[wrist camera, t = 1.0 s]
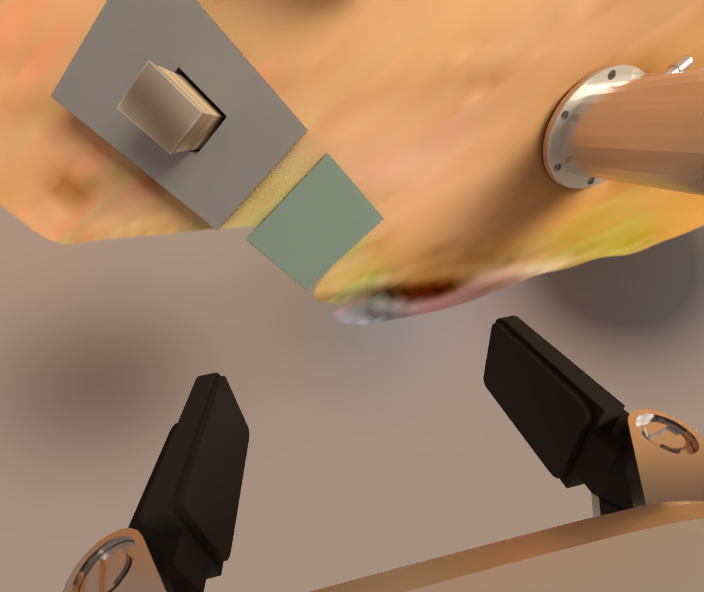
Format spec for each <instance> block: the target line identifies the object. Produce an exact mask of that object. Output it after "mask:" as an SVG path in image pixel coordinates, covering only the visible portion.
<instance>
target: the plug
mask: <svg viewBox="0 0 704 592" xmlns="http://www.w3.org/2000/svg"><path fill="white" fill-rule="evenodd" d="M117 108H118V109H119V110H120V111H121V112H122V113H123V114H124V115H126V116H127V117H128V118H129V119H130V120H131V121H132V122H134V123H135V124H136V125H137V126H138V127H139V128H141V129H142V130H143V131H144V132H145V133H146V134H147V135H149V136H150V137H151V138H152V139H153V140H154V141H156V142H157V143H158V144H159V145H160V146H161V147H162V148H164V149H165V150H166V151H167V152H168V153H169V154H174V153H175V152H182V151H188V150H195V149H201V148H203V146H204V145H205V144H206V143H207V141H208V140H209V139H210V138H211V136H212V135H213V134H214V133H215V131H216V130H217V129H218V127H219V126H220V125H221V124H222V122H223V121H224V120H225V119H226V117H227V116H226V115H225V114H224V113H223V112H222V111H221V110H220V109H219V108H218V107H217V106H216V105H215V104H214V103H213V102H212V101H211V100H210V99H209V98H208V97H207V96H206V95H205V94H204V93H203V92H202V90H201V89H200V88H199V87H198V86H197V85H196V84H195V83H194V82H193V81H192V80H190V79H188V78H185V77H183V76H181V75H178V74H176V73H174V72H172V71H169V70H167V69H165V68H162V67H160V66H158V65H156V64H155V63H153V62H151V61H149V60H148V62H147V63H146V65H145V66H144V68H143V69H142V71H141V72H140V74H139V75H138V77H137V78H136V80H135V81H134V83H133V84H132V86H131V87H130V89H129V90H128V92H127V93H126V95H125V96H124V98H123V99H122V101H121V102H120V104H119V105H118V107H117Z"/></svg>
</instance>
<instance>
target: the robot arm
mask: <svg viewBox="0 0 704 592" xmlns="http://www.w3.org/2000/svg"><path fill="white" fill-rule="evenodd" d="M692 64H693V60H692V58H691V57H690V56H688V55H684V56H682V57H680V58H679V59H678V60H677V61H675V62H674V63H673V64H672V65H670V66H669V67H668V68H667V70H665V71H661V72H655V73H649V74H645V73H644V72H643V71H642V70H640V69H639V68H637V67H635V66H630V65H615V66H610V67H606V68H603V69H600V70H598V71H595V72H593V73H591V74H590V75H588V76H587V77H585V78H584V79H582V80H581V81H580V82H579V83H577V84H576V85H575V86H574V87H573V88H572V89H571V90H570V91H569V92H568V93H567V95H566V96H565V97H564V98H563V99H562V101H561V102H560V104H559V105H558V107H557V108H556V110H555V112H554V114H553V116H552V118H551V120H550V122H549V125H548V127H547V130H546V133H545V138H544V143H543V160H544V165H545V168H546V170H547V173H548V174H549V176H550V177H551V178H552V180H554V181H555V182H556V183H558V184H559V185H562V186H564V187H569V188H574V189H583V188H589V187H592V186H595V185H597V184H600V183H602V182H604V181H605V180H610V181H616V182H622V183H629V184H635V185H641V186H647V187H653V188H659V189H666V190H672V191H678V192H684V193H690V194H697V195H703V196H704V67H702V66H699V67H697V68H695V69H693V70H690V71H685V70H687V69H688V68H689V67H690V66H691V65H692ZM484 383H485V386H486V387H487V389H488V390H489V392H490V393H491V394H492V396H493V397H494V398H495V399H496V401H497V402H498V404H499V405H500V406H501V408H502V409H503V410H504V412H505V413H506V414H507V416H508V417H509V418H510V420H511V421H512V422H513V424H514V425H515V426H516V428H517V429H518V430H519V432H520V433H521V434H522V436H523V437H524V438H525V440H526V441H527V442H528V444H529V445H530V446H531V448H532V449H533V450H534V452H535V453H536V454H537V456H538V457H539V458H540V460H541V461H542V462H543V464H544V465H545V466H546V468H547V469H548V470H549V472H550V473H551V474H552V475H553V476H554V477H556V478H559V479H560V480H561V481H562V483H563V484H564V485H565V487H566V488H569V487H573V486H577V485H581V484H585V485H586V486H587V487H588V489H589V490H590V491H591V495H592V505H593V518H589V519H584V520H581V521H577V522H573V523H569V524H565V525H561V526H557V527H553V528H549V529H546V530H541V531H538V532H534V533H530V534H526V535H522V536H519V537H514V538H510V539H507V540H503V541H499V542H495V543H491V544H487V545H484V546H480V547H476V548H472V549H468V550H465V551H461V552H457V553H453V554H449V555H446V556H442V557H438V558H435V559H430V560H427V561H423V562H419V563H415V564H412V565H408V566H404V567H400V568H396V569H393V570H389V571H385V572H381V573H378V574H374V575H370V576H366V577H363V578H359V579H355V580H352V581H348V582H344V583H340V584H337V585H333V586H329V587H326V588H322V589H318V590H315V591H311V592H704V439H703V438H702V436H701V435H700V434H698V433H697V432H696V431H695V430H694V429H693V428H692V427H690V426H689V425H687V424H686V423H684V422H683V421H681V420H679V419H677V418H675V417H673V416H671V415H668V414H665V413H663V412H660V411H655V410H650V409H638V410H635V411H632V412H631V413H630V414H629V413H628V412H626V411H625V410H624V407H625V406H624V405H623V404H622V403H621V402H620V401H619V400H617V399H616V398H615V397H614V396H612V395H611V394H610V393H609V392H608V391H606V390H605V389H604V388H603V387H602V386H600V385H599V384H598V383H597V382H595V381H594V380H593V379H592V378H591V377H590V376H588V375H587V374H586V373H585V372H583V371H582V370H581V369H580V368H579V367H577V366H576V365H575V364H574V363H573V362H571V361H570V360H569V359H568V358H566V357H565V356H564V355H563V354H562V353H560V352H559V351H558V350H557V349H556V348H554V347H553V346H552V345H551V344H550V343H548V342H547V341H546V340H545V339H543V338H542V337H541V336H540V335H539V334H537V333H536V332H535V331H534V330H533V329H531V328H530V327H529V326H528V325H526V324H525V323H524V322H523V321H522V320H521V319H519V318H518V317H516V316H510V317H504V318H499V319H497V320H496V322H495V324H493V325H492V329H491V335H490V342H489V347H488V354H487V359H486V365H485V372H484ZM248 442H249V429H248V426H247V424H246V422H245V419H244V417H243V415H242V413H241V410H240V408H239V406H238V404H237V401H236V399H235V397H234V395H233V392H232V390H231V388H230V386H229V383H228V381H227V379H226V377H225V376H220V375H219V374H218V373H212V374H208V375H202V376H198V377H197V379H196V380H195V383H194V385H193V388H192V390H191V393H190V395H189V398H188V400H187V402H186V405H185V407H184V409H183V412H182V414H181V416H180V419H179V421H178V423H176V424H175V425H174V426H173V427H172V429H171V431H170V432H169V435H168V437H167V439H166V442H165V444H164V446H163V448H162V451H161V453H160V455H159V458H158V460H157V463H156V465H155V467H154V469H153V472H152V474H151V476H150V479H149V481H148V483H147V485H146V488H145V490H144V492H143V495H142V497H141V500H140V502H139V504H138V506H137V509H136V511H135V513H134V516H133V518H132V520H131V523H130V525H129V527H128V528H126V529H120V530H118V531H116V532H113V533H111V534H109V535H108V536H106V537H104V538H103V539H102V540H100V541H99V542H97V543H96V544H95V545H94V546H93V547H92V548H91V549H90V550H89V551H88V552H87V553H86V554H85V555H84V556H83V558H82V559H81V560H80V561H79V562H78V564H77V565H76V566H75V568H74V570H73V571H72V573H71V575H70V576H69V578H68V580H67V582H66V585H65V588H64V591H63V592H204V587H205V582H206V579H208V578H212V577H216V576H220V575H221V573H222V567H223V561H226V560H228V558H229V556H230V552H231V547H232V541H233V535H234V529H235V522H236V516H237V510H238V503H239V497H240V491H241V485H242V479H243V472H244V467H245V460H246V454H247V448H248Z"/></svg>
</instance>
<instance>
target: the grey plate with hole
mask: <svg viewBox="0 0 704 592" xmlns="http://www.w3.org/2000/svg"><path fill="white" fill-rule="evenodd" d="M148 60H149V61H151V62H153V63H155V64H156V65H158V66H160V67H162V68H165V69H167V70H169V71H172V72H174V73H176V74H178V75H181V76H183V77H185V78H188V79H190V80H192V81H193V82H194V83H195V84H196V85H197V86H198V87H199V88H200V89H201V90H202V92H203V93H204V94H205V95H206V96H207V97H208V98H209V99H210V100H211V101H212V102H213V103H214V104H215V105H216V106H217V107H218V108H219V109H220V110H221V111H222V112H223V113H224V114H225V115H226V116H227V117H226V119H225V120H224V121H223V122H222V124H221V125H220V126H219V127H218V129H217V130H216V131H215V133H214V134H213V135H212V136H211V138H210V139H209V140H208V141H207V143H206V144H205V145H204V146H203V148H201V149H195V150H188V151H182V152H175V153H174V154H169V153H168V152H167V151H166V150H165V149H164V148H162V147H161V146H160V145H159V144H158V143H157V142H156V141H154V140H153V139H152V138H151V137H150V136H149V135H147V134H146V133H145V132H144V131H143V130H142V129H141V128H139V127H138V126H137V125H136V124H135V123H134V122H132V121H131V120H130V119H129V118H128V117H127V116H126V115H124V114H123V113H122V112H121V111H120V110H119V109H118V108H117V107H118V105H119V104H120V102H121V101H122V99H123V98H124V96H125V95H126V93H127V92H128V90H129V89H130V87H131V86H132V84H133V83H134V81H135V80H136V78H137V77H138V75H139V74H140V72H141V71H142V69H143V68H144V66H145V65H146V63H147V62H148ZM51 97H52V98H53V99H54V100H56V101H57V102H58V103H59V104H61V105H62V106H63V107H64V108H66V109H67V110H68V111H69V112H70V113H72V114H73V115H74V116H75V117H77V118H78V119H79V120H80V121H82V122H83V123H84V124H85V125H87V126H88V127H89V128H90V129H92V130H93V131H94V132H95V133H97V134H98V135H99V136H100V137H102V138H103V139H104V140H105V141H106V142H108V143H109V144H110V145H111V146H113V147H114V148H115V149H116V150H118V151H119V152H120V153H121V154H123V155H124V156H125V157H126V158H128V159H129V160H130V161H131V162H133V163H134V164H135V165H136V166H137V167H139V168H140V169H141V170H142V171H144V172H145V173H146V174H147V175H149V176H150V177H151V178H152V179H154V180H155V181H156V182H157V183H159V184H160V185H161V186H162V187H164V188H165V189H166V190H167V191H168V192H170V193H171V194H172V195H173V196H175V197H176V198H177V199H178V200H180V201H181V202H182V203H183V204H185V205H186V206H187V207H188V208H190V209H191V210H192V211H193V212H195V213H196V214H197V215H198V216H199V217H201V218H202V219H203V220H204V221H206V222H207V223H208V224H209V225H211V226H212V227H213V228H214V229H216V230H218V229H219V228H220V227H221V226H222V225H223V224H224V223H225V221H226V220H227V219H228V218H229V217H230V216H231V215H232V214H233V213H234V212H235V210H236V209H237V208H238V207H239V206H240V205H241V204H242V203H243V202H244V200H245V199H246V198H247V197H248V196H249V195H250V194H251V193H252V192H253V190H254V189H255V188H256V187H257V186H258V185H259V184H260V183H261V182H262V180H263V179H264V178H265V177H266V176H267V175H268V174H269V173H270V171H271V170H272V169H273V168H274V167H275V166H276V165H277V164H278V163H279V161H280V160H281V159H282V158H283V157H284V156H285V155H286V154H287V153H288V151H289V150H290V149H291V148H292V147H293V146H294V145H295V144H296V143H297V141H298V140H299V139H300V138H301V137H302V136H303V135H304V134H305V133H306V131H307V129H306V128H305V127H304V125H303V124H302V123H301V122H300V121H299V120H298V118H297V117H296V116H295V115H294V114H293V113H292V111H291V110H290V109H289V108H288V107H287V106H286V104H285V103H284V102H283V101H282V100H281V99H280V98H279V96H278V95H277V94H276V93H275V92H274V91H273V89H272V88H271V87H270V86H269V85H268V84H267V82H266V81H265V80H264V79H263V78H262V77H261V75H260V74H259V73H258V72H257V71H256V70H255V68H254V67H253V66H252V65H251V64H250V63H249V62H248V60H247V59H246V58H245V57H244V56H243V55H242V53H241V52H240V51H239V50H238V49H237V48H236V46H235V45H234V44H233V43H232V42H231V41H230V39H229V38H228V37H227V36H226V35H225V34H224V32H223V31H222V30H221V29H220V28H219V27H218V26H217V24H216V23H215V22H214V21H213V20H212V19H211V17H210V16H209V15H208V14H207V13H206V12H205V10H204V9H203V8H202V7H201V6H200V5H199V3H198V2H197V1H196V0H107V2H106V3H105V5H104V7H103V9H102V10H101V12H100V14H99V15H98V17H97V19H96V20H95V22H94V24H93V25H92V27H91V29H90V31H89V32H88V34H87V36H86V37H85V39H84V41H83V42H82V44H81V46H80V47H79V49H78V51H77V53H76V54H75V56H74V58H73V59H72V61H71V63H70V64H69V66H68V68H67V70H66V71H65V73H64V75H63V76H62V78H61V80H60V81H59V83H58V85H57V86H56V88H55V90H54V92H53V93H52V95H51Z"/></svg>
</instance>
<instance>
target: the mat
mask: <svg viewBox="0 0 704 592" xmlns="http://www.w3.org/2000/svg"><path fill="white" fill-rule="evenodd" d="M383 219H384V218H383V217H382V216H381V215H380V214H379V212H378V211H377V210H376V209H375V208H374V207H373V206H372V204H371V203H370V202H369V201H368V200H367V199H366V197H365V196H364V195H363V194H362V193H361V192H360V190H359V189H358V188H357V187H356V186H355V185H354V183H353V182H352V181H351V180H350V179H349V178H348V176H347V175H346V174H345V173H344V172H343V171H342V170H341V168H340V167H339V166H338V165H337V164H336V163H335V161H334V160H333V159H332V158H331V157H330V156H329V154H328V153H327V154H326V155H325V156H324V157H323V158H322V159H321V160H320V161H319V162H318V163H317V164H316V165H315V167H314V168H313V169H312V170H311V171H310V172H309V173H308V174H307V175H306V176H305V177H304V178H303V179H302V180H301V181H300V182H299V183H298V185H297V186H296V187H295V188H294V189H293V190H292V191H291V192H290V193H289V194H288V195H287V196H286V197H285V198H284V199H283V200H282V201H281V203H280V204H279V205H278V206H277V207H276V208H275V209H274V210H273V211H272V212H271V213H270V214H269V215H268V216H267V217H266V218H265V219H264V220H263V222H262V223H261V224H260V225H259V226H258V227H257V228H256V229H255V230H254V231H253V232H252V233H251V234H250V235H249V236H248V238H247V239H246V240H247V241H248V242H249V243H251V244H252V245H253V246H254V247H255V248H257V249H258V250H259V251H260V252H262V253H263V254H264V255H265V256H266V257H268V258H269V259H270V260H271V261H272V262H273V263H275V264H276V265H277V266H278V267H280V268H281V269H282V270H283V271H284V272H285V273H287V274H288V275H289V276H290V277H292V278H293V279H294V280H295V281H296V282H298V283H299V284H300V285H301V286H302V287H304V288H305V289H307V288H309V287H310V286H311V285H312V284H313V283H314V282H315V281H316V280H317V279H318V278H319V277H321V276H322V275H323V274H324V273H325V272H326V271H327V270H328V269H329V268H330V267H331V266H333V265H334V264H335V263H336V262H337V261H338V260H339V259H340V258H341V257H342V256H343V255H345V254H346V253H347V252H348V251H349V250H350V249H351V248H352V247H353V246H354V245H355V244H357V243H358V242H359V241H360V240H361V239H362V238H363V237H364V236H365V235H366V234H367V233H369V232H370V231H371V230H372V229H373V228H374V227H375V226H376V225H377V224H378V223H380V222H381V221H382V220H383Z"/></svg>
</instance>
